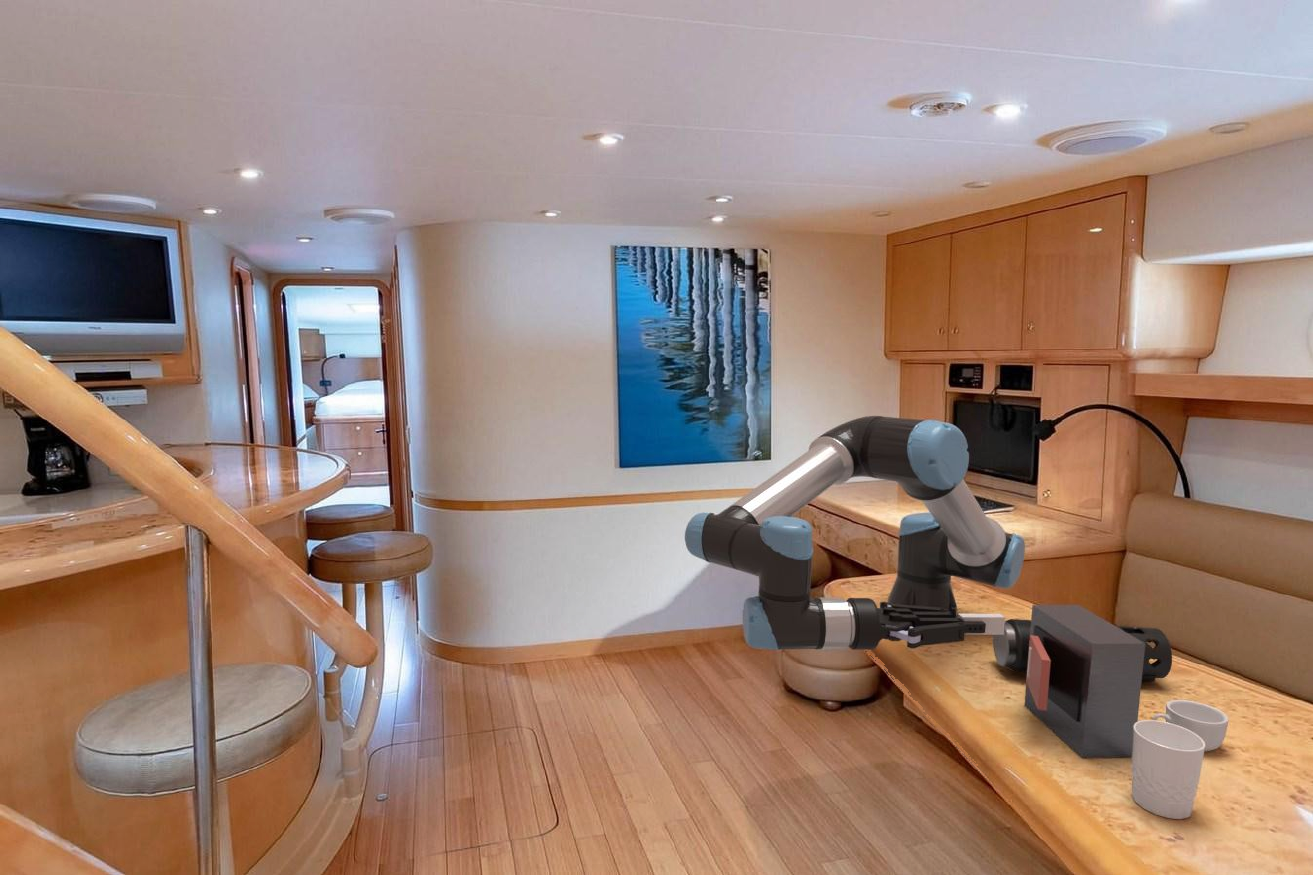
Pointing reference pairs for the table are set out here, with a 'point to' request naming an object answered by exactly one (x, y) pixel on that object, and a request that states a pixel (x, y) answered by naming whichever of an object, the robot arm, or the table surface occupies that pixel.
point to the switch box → (1088, 680)
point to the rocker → (1038, 672)
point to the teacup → (1198, 720)
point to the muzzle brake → (1017, 632)
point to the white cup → (1165, 768)
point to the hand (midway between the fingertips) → (1001, 624)
